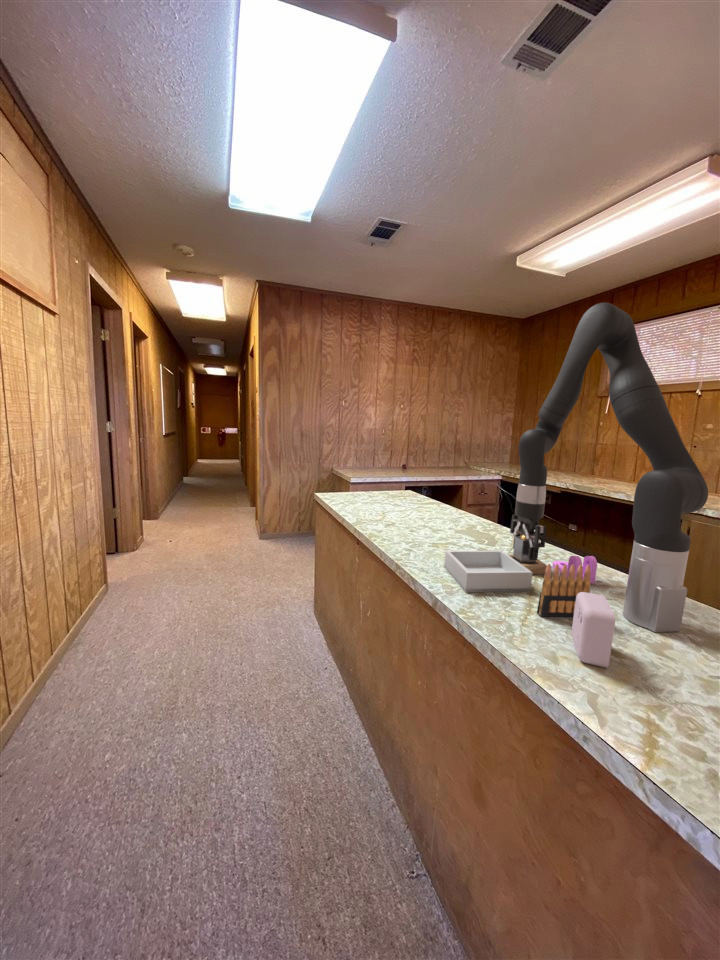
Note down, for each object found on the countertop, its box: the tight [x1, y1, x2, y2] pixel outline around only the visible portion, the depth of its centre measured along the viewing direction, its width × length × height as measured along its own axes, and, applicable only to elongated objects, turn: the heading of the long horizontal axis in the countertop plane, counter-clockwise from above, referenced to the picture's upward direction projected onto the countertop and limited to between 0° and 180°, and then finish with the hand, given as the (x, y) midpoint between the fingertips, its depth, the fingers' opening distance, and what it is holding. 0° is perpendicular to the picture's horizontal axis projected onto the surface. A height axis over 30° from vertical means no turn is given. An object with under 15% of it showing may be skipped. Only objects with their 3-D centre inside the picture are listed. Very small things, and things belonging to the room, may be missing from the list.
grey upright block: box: [512, 534, 536, 564], centre depth 110 cm, size 4×4×10 cm
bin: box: [443, 550, 533, 593], centre depth 102 cm, size 16×17×5 cm
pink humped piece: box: [552, 555, 598, 584], centre depth 108 cm, size 13×6×7 cm, turn 2°
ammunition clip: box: [536, 563, 592, 619], centre depth 83 cm, size 11×2×12 cm, turn 92°
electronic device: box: [571, 592, 616, 669], centre depth 70 cm, size 10×5×10 cm, turn 159°
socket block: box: [506, 553, 548, 575], centre depth 110 cm, size 9×9×2 cm
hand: (524, 554), depth 110 cm, fingers open, 8 cm apart
